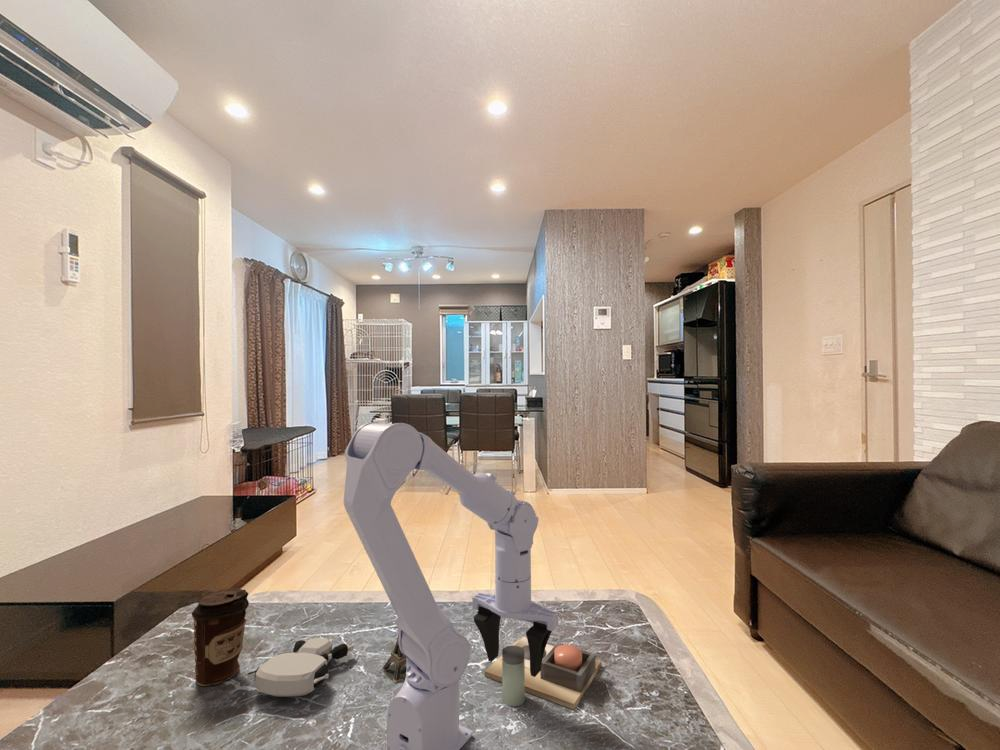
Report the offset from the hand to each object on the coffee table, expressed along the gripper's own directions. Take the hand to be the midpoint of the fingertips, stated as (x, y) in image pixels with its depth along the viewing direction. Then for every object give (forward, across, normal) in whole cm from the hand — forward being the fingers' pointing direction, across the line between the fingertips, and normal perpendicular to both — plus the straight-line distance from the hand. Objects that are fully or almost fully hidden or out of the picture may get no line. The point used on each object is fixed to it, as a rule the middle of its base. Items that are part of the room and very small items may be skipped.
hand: (513, 665), depth 67 cm
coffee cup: (+5, +46, +21) cm, 51 cm away
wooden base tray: (+5, -1, -9) cm, 10 cm away
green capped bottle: (+5, 0, 0) cm, 5 cm away
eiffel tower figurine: (+6, +20, +4) cm, 21 cm away
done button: (+3, -6, -9) cm, 11 cm away
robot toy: (+5, +33, +14) cm, 36 cm away
